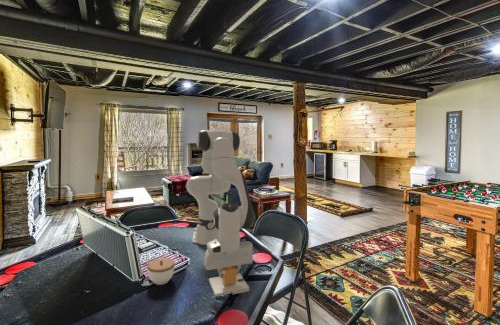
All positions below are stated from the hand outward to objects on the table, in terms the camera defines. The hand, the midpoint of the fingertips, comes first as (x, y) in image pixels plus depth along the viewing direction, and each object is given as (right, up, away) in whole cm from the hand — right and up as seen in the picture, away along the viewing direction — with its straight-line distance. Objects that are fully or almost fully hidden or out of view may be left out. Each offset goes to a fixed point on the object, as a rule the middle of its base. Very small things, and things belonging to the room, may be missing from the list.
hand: (228, 275), depth 110 cm
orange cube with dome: (0, -2, 0) cm, 2 cm away
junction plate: (0, -5, 0) cm, 5 cm away
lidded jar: (-29, -4, +3) cm, 29 cm away
